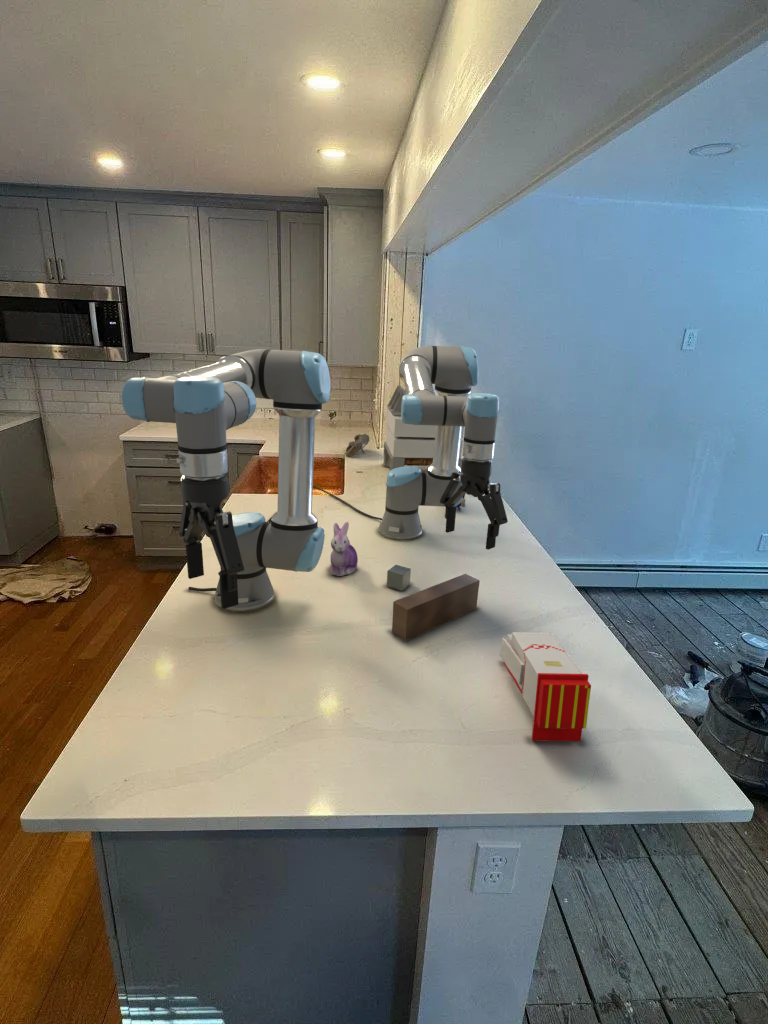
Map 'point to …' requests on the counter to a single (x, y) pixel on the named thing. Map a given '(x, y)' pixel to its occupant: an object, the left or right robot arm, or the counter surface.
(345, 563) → the figurine
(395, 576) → the grey block
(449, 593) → the walnut bar
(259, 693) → the counter surface
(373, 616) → the counter surface
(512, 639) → the toy
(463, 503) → the figurine character
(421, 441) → the grey slatted crate
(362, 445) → the fossil
